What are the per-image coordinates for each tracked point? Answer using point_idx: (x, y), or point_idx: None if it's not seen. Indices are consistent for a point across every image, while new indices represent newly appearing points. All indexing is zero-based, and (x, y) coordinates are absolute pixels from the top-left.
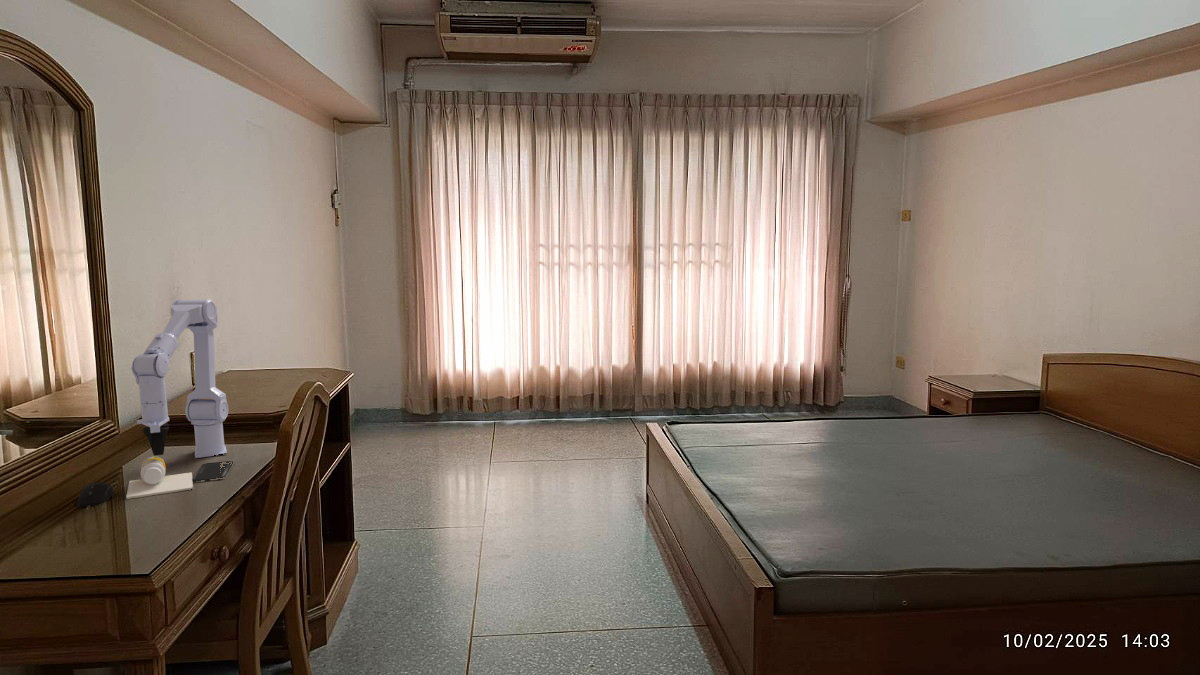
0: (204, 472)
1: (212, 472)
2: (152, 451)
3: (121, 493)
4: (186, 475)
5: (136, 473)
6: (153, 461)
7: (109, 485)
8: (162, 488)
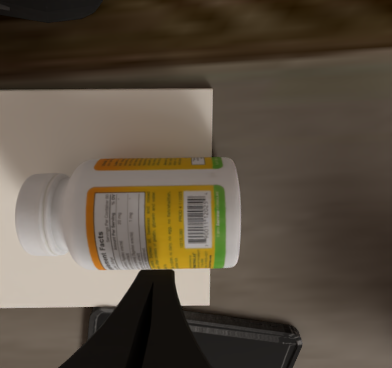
0: None
1: None
2: (131, 284)
3: (43, 61)
4: None
5: (370, 109)
6: (107, 250)
7: (6, 4)
8: None
